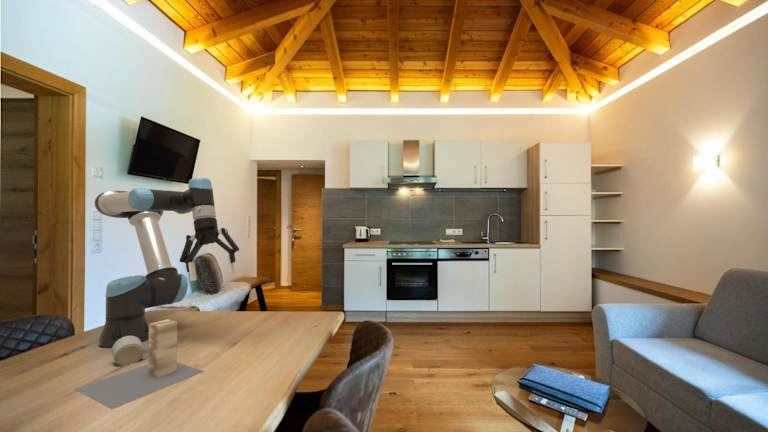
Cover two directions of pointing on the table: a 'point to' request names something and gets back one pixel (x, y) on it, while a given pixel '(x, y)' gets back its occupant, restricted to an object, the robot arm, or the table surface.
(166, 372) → the beech block
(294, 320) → the table surface
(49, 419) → the table surface
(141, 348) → the ceramic mug
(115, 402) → the felt mat
